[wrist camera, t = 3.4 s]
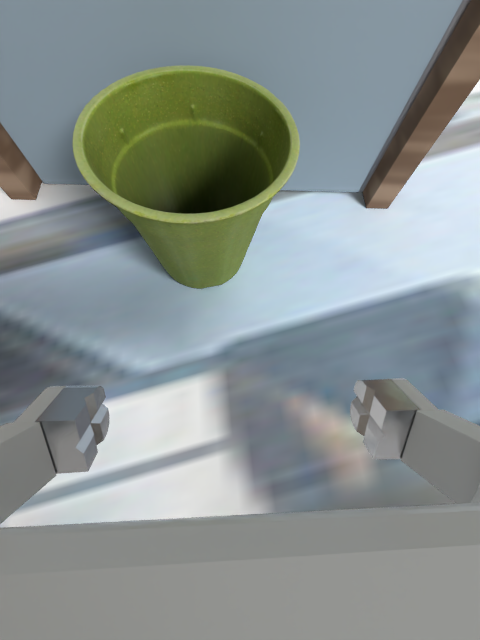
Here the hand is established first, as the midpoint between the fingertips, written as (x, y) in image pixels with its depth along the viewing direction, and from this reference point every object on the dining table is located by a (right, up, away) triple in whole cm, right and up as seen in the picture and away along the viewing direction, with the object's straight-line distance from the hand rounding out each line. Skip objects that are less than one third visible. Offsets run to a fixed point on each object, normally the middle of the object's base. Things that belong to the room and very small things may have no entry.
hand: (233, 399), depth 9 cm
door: (-3, +17, +18) cm, 25 cm away
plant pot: (-3, +8, +16) cm, 18 cm away
